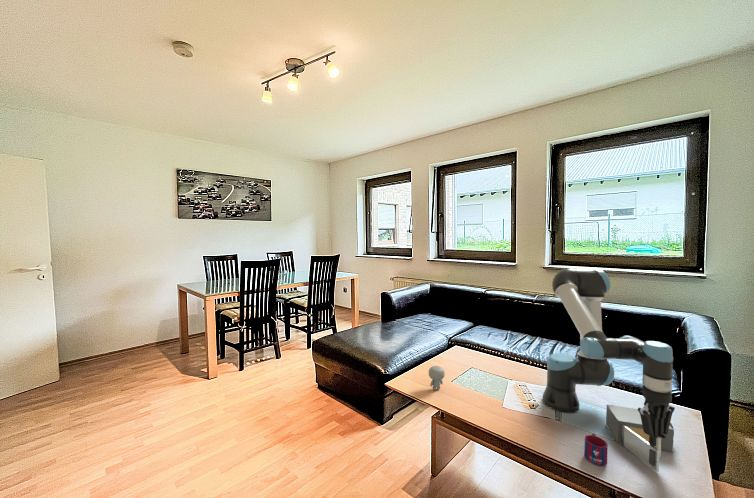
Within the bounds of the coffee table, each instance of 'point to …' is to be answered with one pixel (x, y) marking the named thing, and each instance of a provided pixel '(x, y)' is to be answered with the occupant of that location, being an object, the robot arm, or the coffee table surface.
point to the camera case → (633, 425)
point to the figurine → (436, 376)
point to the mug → (596, 450)
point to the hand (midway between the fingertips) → (655, 453)
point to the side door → (640, 448)
